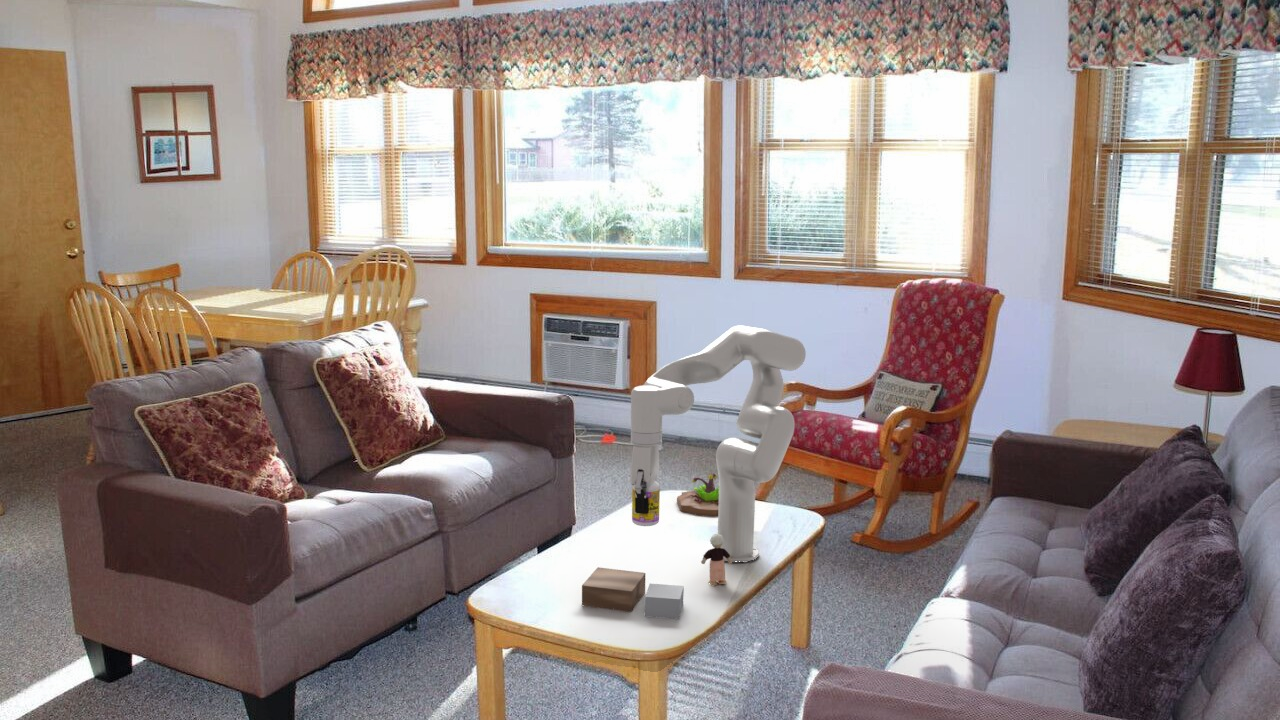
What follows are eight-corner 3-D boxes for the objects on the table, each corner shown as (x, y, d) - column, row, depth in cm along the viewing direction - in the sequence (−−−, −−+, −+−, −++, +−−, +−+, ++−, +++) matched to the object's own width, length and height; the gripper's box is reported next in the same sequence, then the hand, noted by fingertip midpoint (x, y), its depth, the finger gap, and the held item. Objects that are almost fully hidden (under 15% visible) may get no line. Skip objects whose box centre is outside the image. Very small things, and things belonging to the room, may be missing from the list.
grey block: (649, 603, 249) (649, 583, 248) (683, 606, 248) (683, 585, 247) (644, 617, 241) (644, 596, 240) (679, 620, 240) (680, 599, 239)
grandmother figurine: (726, 578, 265) (727, 530, 262) (733, 584, 261) (734, 534, 259) (698, 582, 262) (699, 533, 260) (704, 588, 258) (705, 538, 256)
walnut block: (597, 586, 258) (597, 567, 257) (645, 592, 255) (645, 572, 254) (581, 605, 247) (581, 585, 246) (631, 612, 244) (631, 591, 243)
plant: (674, 515, 314) (674, 478, 312) (678, 496, 334) (679, 461, 332) (741, 518, 312) (742, 481, 310) (742, 498, 332) (743, 464, 330)
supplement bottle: (636, 528, 255) (636, 476, 252) (628, 519, 261) (629, 469, 259) (662, 525, 256) (663, 474, 254) (655, 517, 263) (655, 467, 260)
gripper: (640, 427, 264) (640, 496, 267) (621, 445, 248) (620, 518, 251) (670, 429, 262) (669, 499, 265) (652, 447, 246) (651, 521, 249)
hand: (645, 507), depth 258 cm, fingers closed on supplement bottle, 6 cm apart
